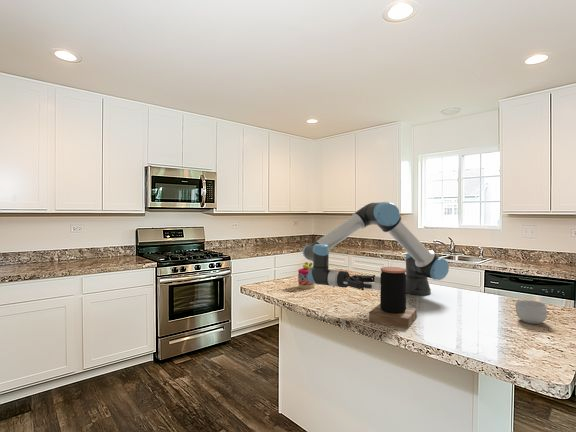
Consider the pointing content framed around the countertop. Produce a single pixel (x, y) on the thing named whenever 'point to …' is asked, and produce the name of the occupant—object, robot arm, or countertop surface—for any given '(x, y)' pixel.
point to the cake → (305, 277)
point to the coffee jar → (393, 290)
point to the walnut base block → (393, 317)
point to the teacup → (531, 311)
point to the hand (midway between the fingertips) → (384, 284)
